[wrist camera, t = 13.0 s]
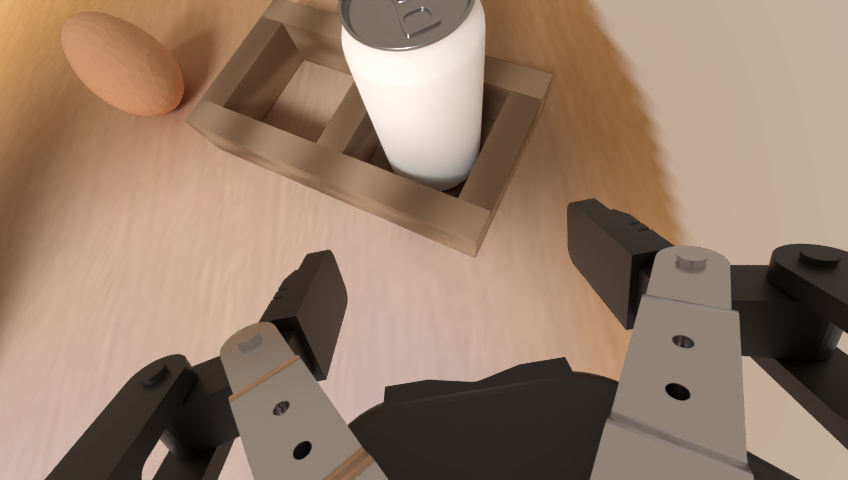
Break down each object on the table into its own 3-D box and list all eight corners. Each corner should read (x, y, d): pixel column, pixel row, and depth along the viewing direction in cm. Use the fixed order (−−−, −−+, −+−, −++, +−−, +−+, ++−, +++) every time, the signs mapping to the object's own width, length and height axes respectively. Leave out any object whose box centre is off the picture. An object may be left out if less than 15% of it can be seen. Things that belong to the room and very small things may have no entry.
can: (457, 103, 26) (448, -86, 15) (495, 172, 24) (518, 14, 13) (378, 137, 26) (308, -26, 15) (409, 209, 24) (355, 83, 13)
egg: (181, 63, 31) (90, -28, 24) (216, 99, 29) (129, 13, 22) (126, 107, 30) (14, 27, 23) (159, 146, 29) (49, 74, 21)
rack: (218, 148, 28) (184, 121, 24) (296, 36, 30) (275, -3, 27) (475, 258, 22) (476, 242, 19) (542, 110, 25) (553, 74, 22)
